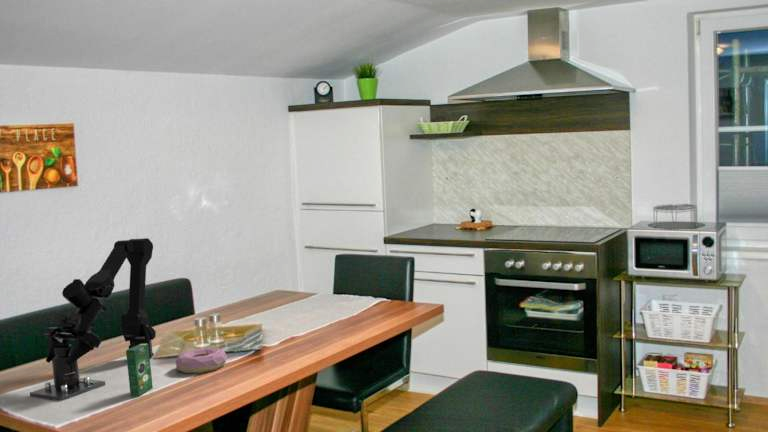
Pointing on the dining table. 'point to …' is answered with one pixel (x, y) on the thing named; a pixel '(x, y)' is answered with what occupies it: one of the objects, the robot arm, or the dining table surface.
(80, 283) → the robot arm
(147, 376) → the coffee box
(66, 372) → the supplement bottle
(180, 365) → the donut
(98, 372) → the dining table surface
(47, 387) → the chassis
